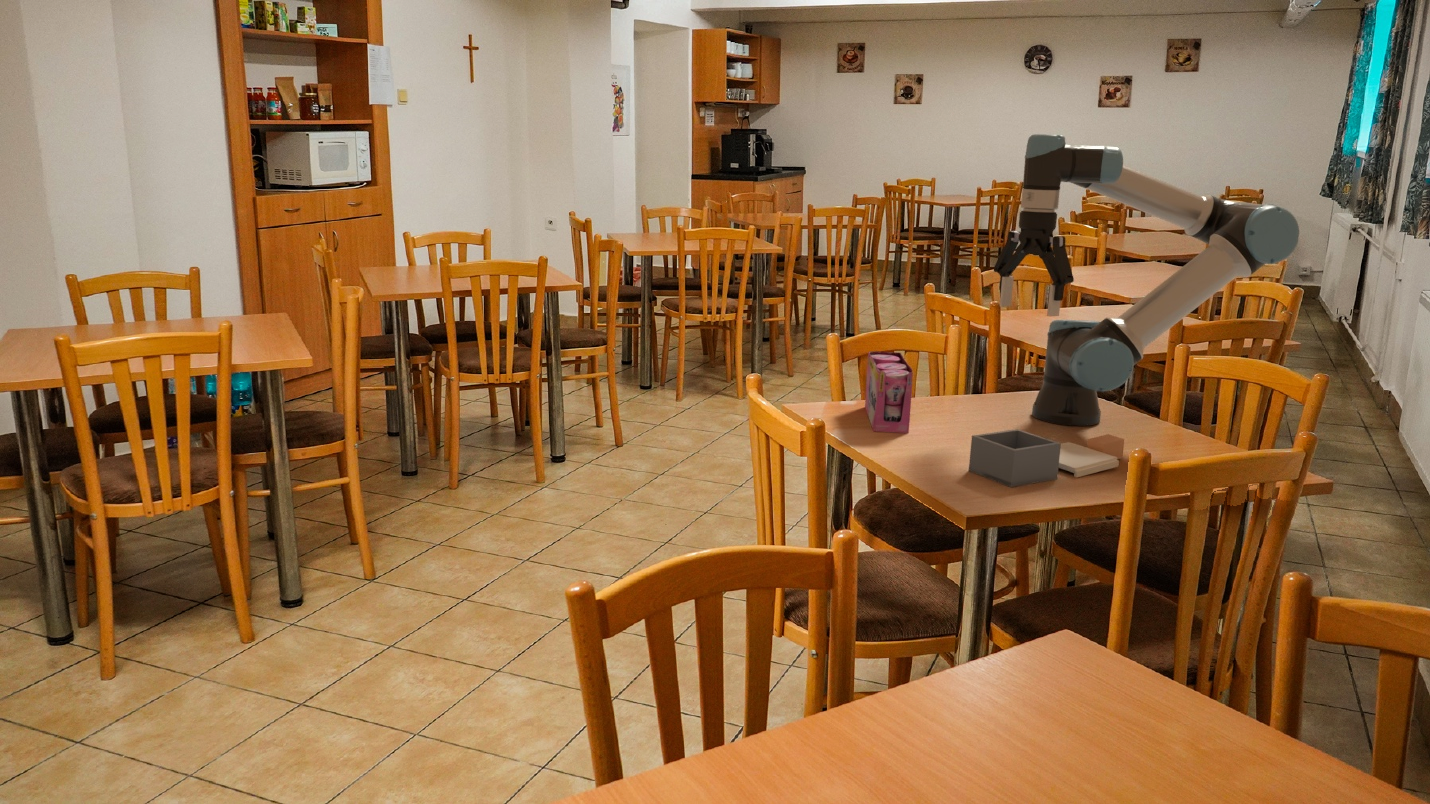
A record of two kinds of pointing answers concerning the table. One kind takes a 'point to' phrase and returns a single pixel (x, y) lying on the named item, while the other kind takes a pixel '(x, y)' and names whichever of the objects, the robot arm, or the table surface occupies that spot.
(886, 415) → the gum box
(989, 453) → the tub
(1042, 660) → the table surface
